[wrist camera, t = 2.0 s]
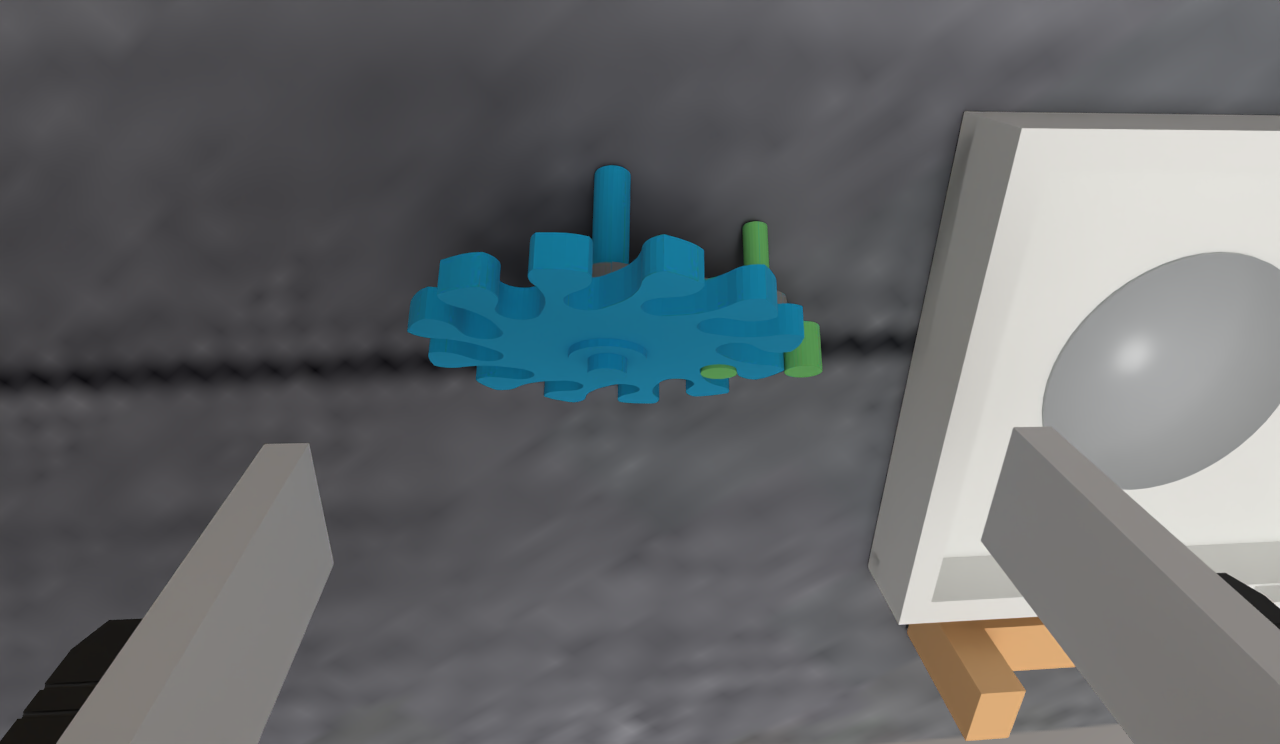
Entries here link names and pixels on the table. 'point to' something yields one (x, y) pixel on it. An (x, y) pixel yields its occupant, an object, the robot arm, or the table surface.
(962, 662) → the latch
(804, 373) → the gear
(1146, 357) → the tray
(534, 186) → the table surface
